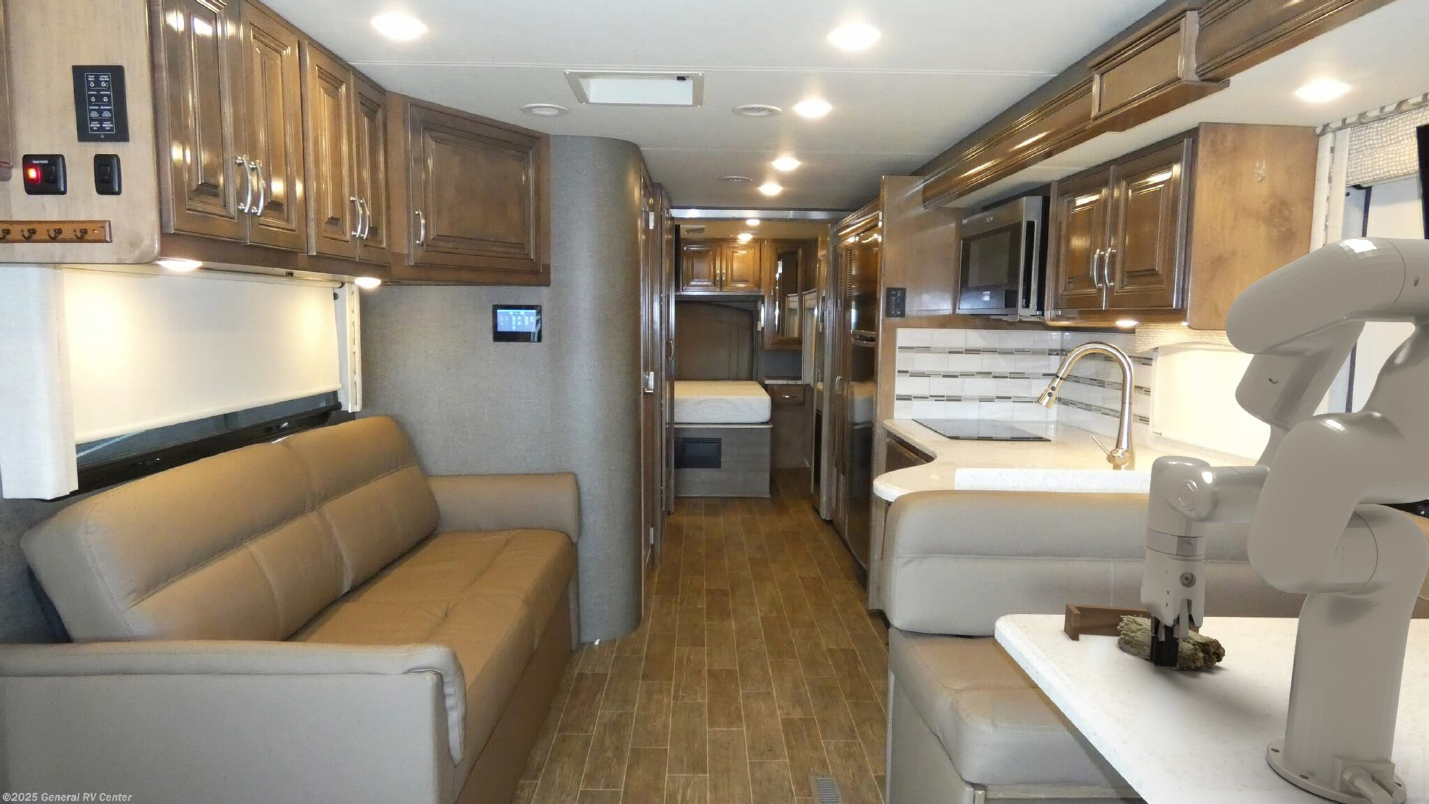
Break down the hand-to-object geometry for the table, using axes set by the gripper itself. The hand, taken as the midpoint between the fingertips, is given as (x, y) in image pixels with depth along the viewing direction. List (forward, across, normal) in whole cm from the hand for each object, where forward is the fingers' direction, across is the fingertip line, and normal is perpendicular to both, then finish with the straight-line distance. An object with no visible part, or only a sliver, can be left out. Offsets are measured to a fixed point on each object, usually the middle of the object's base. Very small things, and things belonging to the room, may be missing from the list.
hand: (1162, 664), depth 118 cm
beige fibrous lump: (+2, +6, -3) cm, 7 cm away
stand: (+1, +12, 0) cm, 12 cm away
